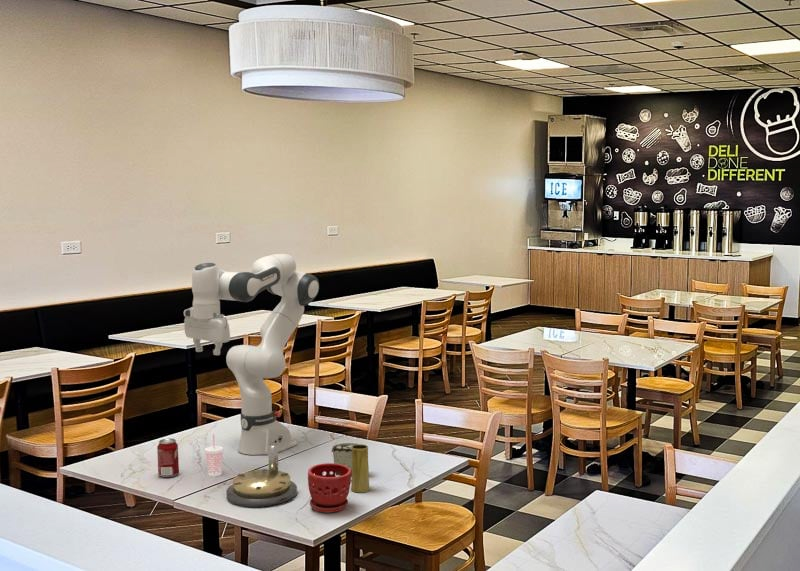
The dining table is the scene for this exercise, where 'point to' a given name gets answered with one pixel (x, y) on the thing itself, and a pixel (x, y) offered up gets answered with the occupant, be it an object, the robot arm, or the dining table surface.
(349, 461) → the food container
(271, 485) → the tan disc with rod
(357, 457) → the vase
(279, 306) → the robot arm
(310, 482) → the plant pot
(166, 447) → the soda can
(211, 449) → the beverage cup
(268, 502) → the grey round ring
